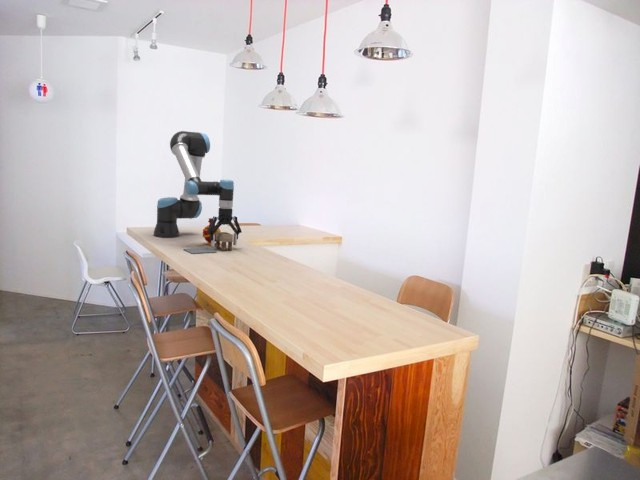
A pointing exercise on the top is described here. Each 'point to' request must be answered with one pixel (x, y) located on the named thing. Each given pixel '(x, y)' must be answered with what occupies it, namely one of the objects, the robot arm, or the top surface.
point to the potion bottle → (207, 235)
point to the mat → (199, 250)
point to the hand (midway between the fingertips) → (223, 245)
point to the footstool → (224, 240)
